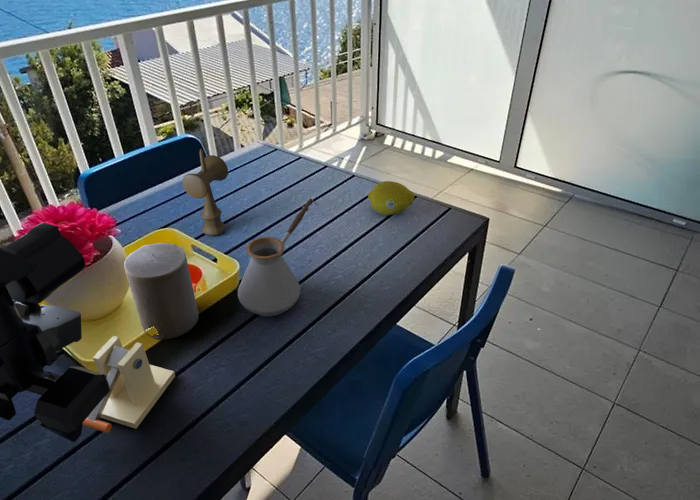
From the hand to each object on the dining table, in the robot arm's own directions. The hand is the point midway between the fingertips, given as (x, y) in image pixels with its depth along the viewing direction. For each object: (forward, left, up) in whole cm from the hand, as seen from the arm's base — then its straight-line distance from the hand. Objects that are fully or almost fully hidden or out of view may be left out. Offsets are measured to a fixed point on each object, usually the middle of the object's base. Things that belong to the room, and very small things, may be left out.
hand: (43, 427), depth 58 cm
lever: (+9, +7, -7) cm, 13 cm away
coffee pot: (+43, +16, -12) cm, 47 cm away
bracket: (+11, +9, -12) cm, 18 cm away
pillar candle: (+22, +21, -12) cm, 33 cm away
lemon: (+78, +24, -12) cm, 82 cm away
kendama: (+41, +42, -12) cm, 60 cm away
